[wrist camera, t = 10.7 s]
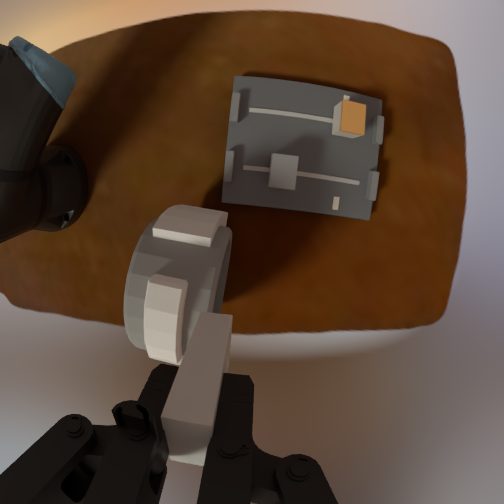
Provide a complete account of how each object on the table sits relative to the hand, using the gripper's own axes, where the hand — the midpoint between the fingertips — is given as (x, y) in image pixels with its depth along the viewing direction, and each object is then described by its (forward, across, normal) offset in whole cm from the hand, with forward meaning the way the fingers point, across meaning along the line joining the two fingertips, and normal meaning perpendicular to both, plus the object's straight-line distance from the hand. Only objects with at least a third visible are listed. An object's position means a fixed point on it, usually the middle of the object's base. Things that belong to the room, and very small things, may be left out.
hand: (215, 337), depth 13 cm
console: (+28, +7, +12) cm, 32 cm away
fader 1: (+26, +4, +8) cm, 27 cm away
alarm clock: (+29, -6, -6) cm, 30 cm away
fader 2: (+26, +12, +16) cm, 33 cm away
